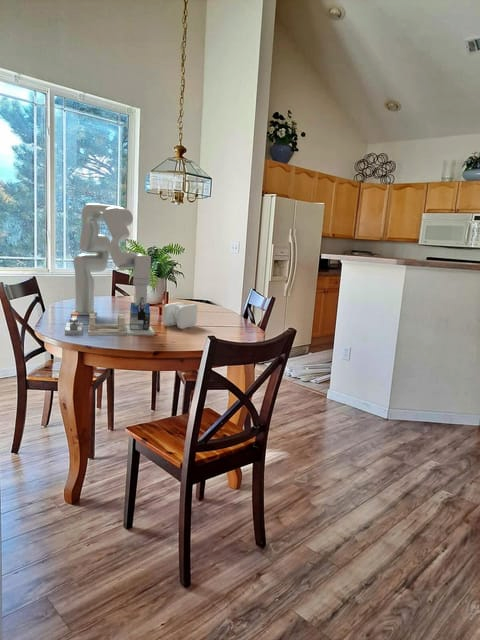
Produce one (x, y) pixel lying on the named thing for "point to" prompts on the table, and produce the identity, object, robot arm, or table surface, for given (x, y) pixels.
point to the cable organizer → (180, 315)
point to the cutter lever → (74, 318)
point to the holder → (106, 327)
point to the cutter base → (73, 329)
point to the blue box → (139, 324)
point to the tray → (140, 331)
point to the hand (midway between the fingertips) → (140, 317)
